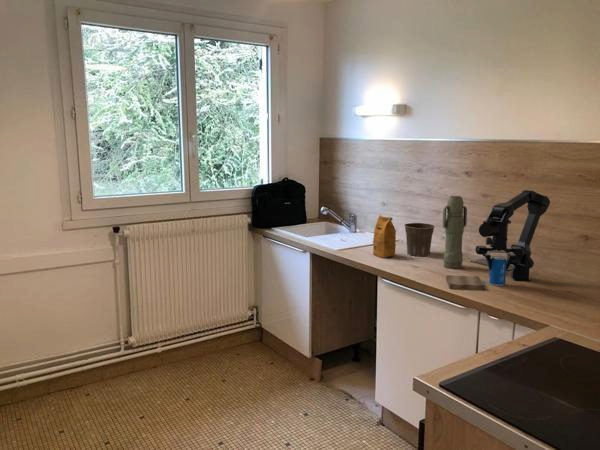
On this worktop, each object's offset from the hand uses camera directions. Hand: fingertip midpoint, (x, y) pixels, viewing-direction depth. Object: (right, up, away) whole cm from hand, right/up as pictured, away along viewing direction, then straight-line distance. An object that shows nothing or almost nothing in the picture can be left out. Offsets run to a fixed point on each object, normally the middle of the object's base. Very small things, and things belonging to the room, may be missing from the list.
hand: (498, 269), depth 216 cm
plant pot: (-20, +3, +60) cm, 63 cm away
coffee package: (-40, +2, +57) cm, 70 cm away
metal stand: (-14, -7, +1) cm, 16 cm away
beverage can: (0, -7, +1) cm, 7 cm away
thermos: (-10, -1, +32) cm, 33 cm away
